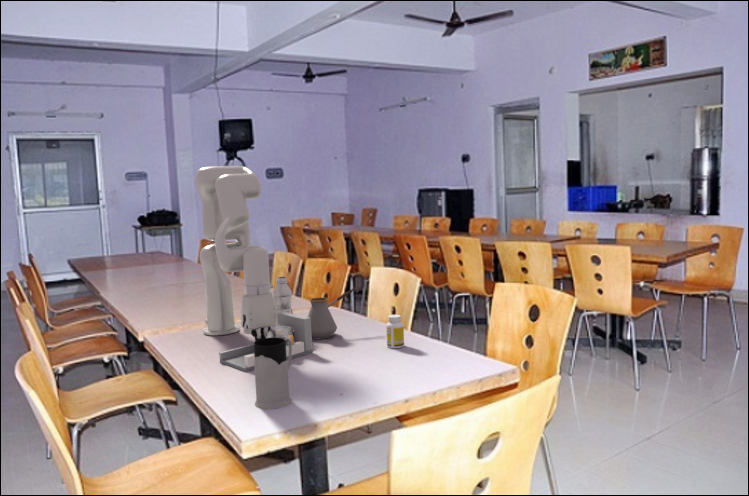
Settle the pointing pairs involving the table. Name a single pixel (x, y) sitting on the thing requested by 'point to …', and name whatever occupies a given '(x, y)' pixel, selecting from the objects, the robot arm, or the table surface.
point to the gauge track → (301, 346)
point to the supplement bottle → (395, 332)
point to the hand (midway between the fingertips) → (261, 349)
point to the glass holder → (272, 373)
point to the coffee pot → (323, 317)
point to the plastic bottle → (282, 296)
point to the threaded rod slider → (281, 332)
